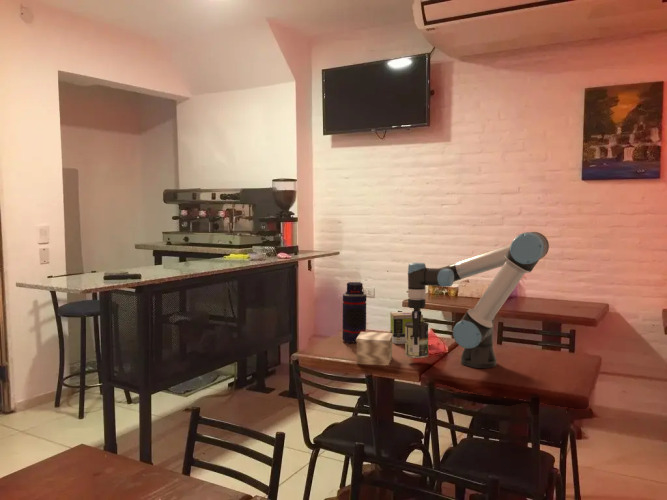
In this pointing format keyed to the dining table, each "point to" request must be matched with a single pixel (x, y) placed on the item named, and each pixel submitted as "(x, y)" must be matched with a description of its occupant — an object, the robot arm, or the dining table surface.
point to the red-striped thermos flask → (354, 311)
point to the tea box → (400, 325)
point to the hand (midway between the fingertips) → (416, 348)
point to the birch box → (374, 348)
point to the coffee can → (422, 340)
